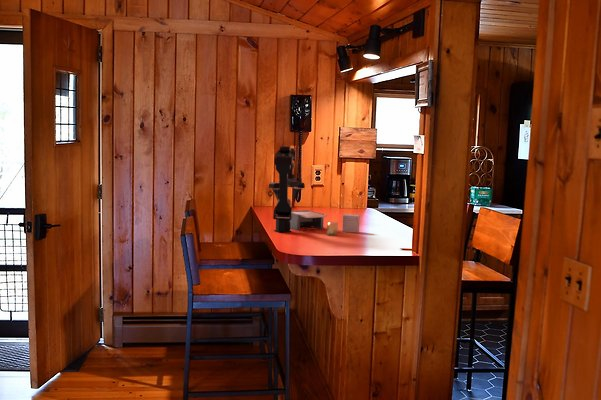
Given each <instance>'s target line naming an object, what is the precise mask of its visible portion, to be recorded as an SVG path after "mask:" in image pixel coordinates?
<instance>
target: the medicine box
mask: <svg viewBox="0 0 601 400" xmlns="http://www.w3.org/2000/svg"><path fill="white" fill-rule="evenodd" d="M341 229H342V230H341V231H342V233H353V234H358V233H359V232H360V214H349V213H348V214H346V213H345V214H343V215H342V228H341Z"/></svg>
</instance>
